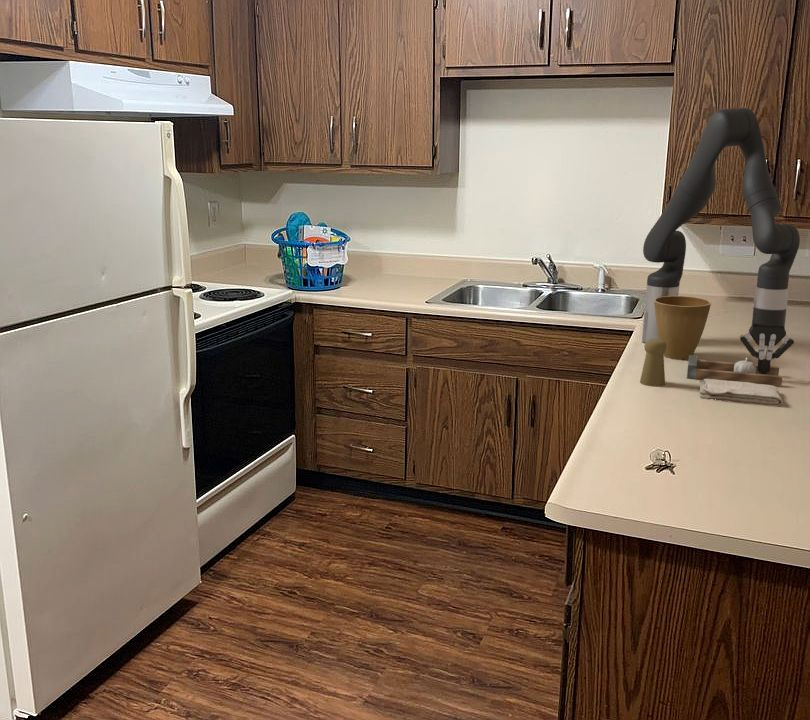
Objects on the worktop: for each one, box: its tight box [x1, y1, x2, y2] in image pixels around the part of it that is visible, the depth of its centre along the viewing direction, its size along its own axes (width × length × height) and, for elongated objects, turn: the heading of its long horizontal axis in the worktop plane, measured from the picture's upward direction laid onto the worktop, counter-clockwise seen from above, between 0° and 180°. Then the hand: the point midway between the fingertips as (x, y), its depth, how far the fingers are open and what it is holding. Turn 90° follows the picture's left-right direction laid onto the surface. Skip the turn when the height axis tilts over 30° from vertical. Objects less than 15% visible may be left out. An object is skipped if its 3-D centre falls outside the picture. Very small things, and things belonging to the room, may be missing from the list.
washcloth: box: [699, 379, 784, 407], centre depth 193 cm, size 12×18×3 cm, turn 71°
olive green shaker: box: [639, 339, 667, 387], centre depth 202 cm, size 6×6×11 cm
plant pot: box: [654, 295, 712, 361], centre depth 227 cm, size 15×15×16 cm
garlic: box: [734, 357, 756, 374], centre depth 207 cm, size 6×5×5 cm
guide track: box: [686, 354, 783, 388], centre depth 209 cm, size 22×11×4 cm, turn 70°
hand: (763, 373), depth 206 cm, fingers closed
